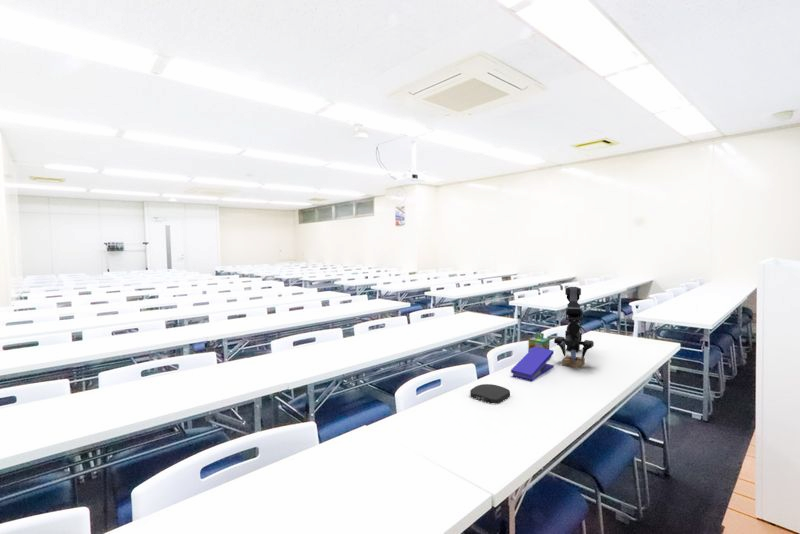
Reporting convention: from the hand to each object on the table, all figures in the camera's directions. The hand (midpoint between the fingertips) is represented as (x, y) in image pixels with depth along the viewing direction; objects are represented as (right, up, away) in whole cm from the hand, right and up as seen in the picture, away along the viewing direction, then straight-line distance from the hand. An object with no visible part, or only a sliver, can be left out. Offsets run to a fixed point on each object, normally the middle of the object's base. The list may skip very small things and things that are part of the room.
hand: (573, 357), depth 209 cm
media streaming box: (-54, -8, -38) cm, 66 cm away
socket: (0, -4, 0) cm, 4 cm away
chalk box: (-14, -4, +13) cm, 20 cm away
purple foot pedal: (-25, -6, -9) cm, 27 cm away
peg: (0, -4, 0) cm, 4 cm away
